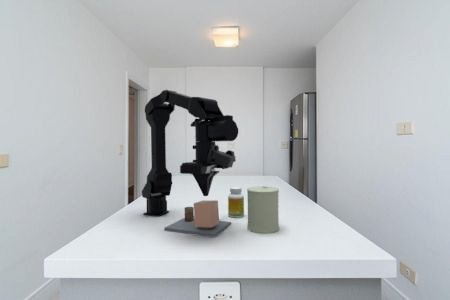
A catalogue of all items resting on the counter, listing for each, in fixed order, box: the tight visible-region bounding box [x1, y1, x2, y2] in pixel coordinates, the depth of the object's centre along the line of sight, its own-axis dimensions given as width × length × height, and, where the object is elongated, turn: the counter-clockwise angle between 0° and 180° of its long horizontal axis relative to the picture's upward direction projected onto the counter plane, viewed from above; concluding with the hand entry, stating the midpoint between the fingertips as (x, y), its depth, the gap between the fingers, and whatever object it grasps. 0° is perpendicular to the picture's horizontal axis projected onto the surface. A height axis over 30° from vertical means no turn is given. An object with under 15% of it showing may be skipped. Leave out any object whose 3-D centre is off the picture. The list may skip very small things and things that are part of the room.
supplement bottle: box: [227, 186, 245, 219], centre depth 90 cm, size 5×5×10 cm
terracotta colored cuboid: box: [193, 199, 220, 227], centre depth 76 cm, size 5×5×7 cm
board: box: [163, 217, 232, 238], centre depth 78 cm, size 16×12×1 cm
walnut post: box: [184, 206, 194, 222], centre depth 83 cm, size 3×3×4 cm
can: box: [246, 186, 280, 234], centre depth 77 cm, size 9×9×12 cm
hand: (205, 195), depth 76 cm, fingers closed
